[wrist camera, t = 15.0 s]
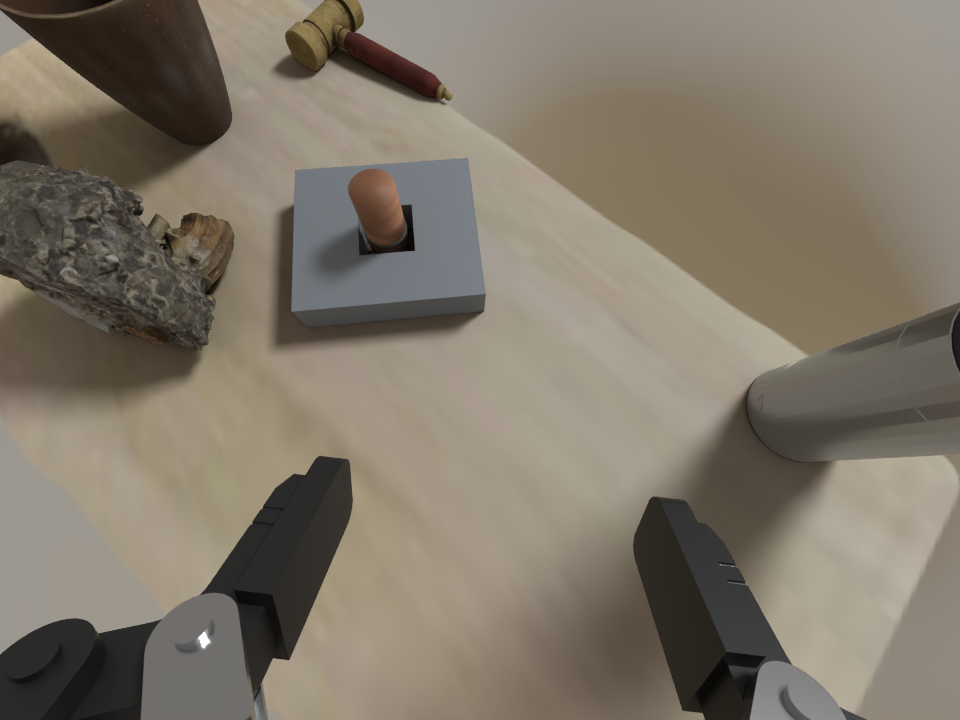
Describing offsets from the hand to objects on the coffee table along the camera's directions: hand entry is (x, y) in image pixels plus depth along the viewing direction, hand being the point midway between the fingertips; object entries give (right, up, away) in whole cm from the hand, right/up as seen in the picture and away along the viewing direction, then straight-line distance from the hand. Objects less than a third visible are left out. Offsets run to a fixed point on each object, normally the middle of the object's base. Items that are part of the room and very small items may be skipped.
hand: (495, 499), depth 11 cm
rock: (-31, +11, +30) cm, 45 cm away
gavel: (-13, +41, +41) cm, 59 cm away
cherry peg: (-10, +15, +32) cm, 37 cm away
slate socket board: (-10, +16, +32) cm, 37 cm away
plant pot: (-34, +32, +37) cm, 60 cm away
